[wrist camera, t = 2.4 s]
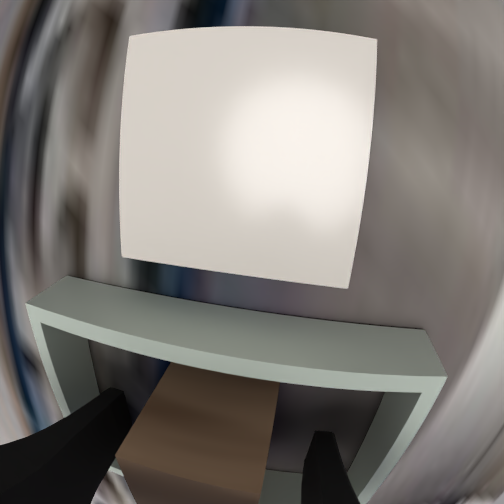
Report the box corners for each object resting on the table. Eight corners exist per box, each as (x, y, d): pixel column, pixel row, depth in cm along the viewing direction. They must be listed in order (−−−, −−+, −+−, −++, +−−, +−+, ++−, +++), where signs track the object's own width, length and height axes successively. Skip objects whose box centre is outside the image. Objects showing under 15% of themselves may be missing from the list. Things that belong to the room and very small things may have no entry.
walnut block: (268, 440, 12) (249, 537, 8) (180, 422, 13) (140, 509, 8) (280, 375, 11) (260, 493, 6) (174, 356, 12) (114, 455, 7)
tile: (346, 281, 9) (347, 289, 9) (129, 252, 10) (122, 256, 10) (373, 44, 7) (376, 39, 7) (137, 40, 8) (129, 36, 8)
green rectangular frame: (353, 477, 13) (354, 517, 10) (105, 428, 14) (84, 459, 12) (424, 329, 10) (447, 376, 7) (66, 275, 11) (25, 303, 9)
